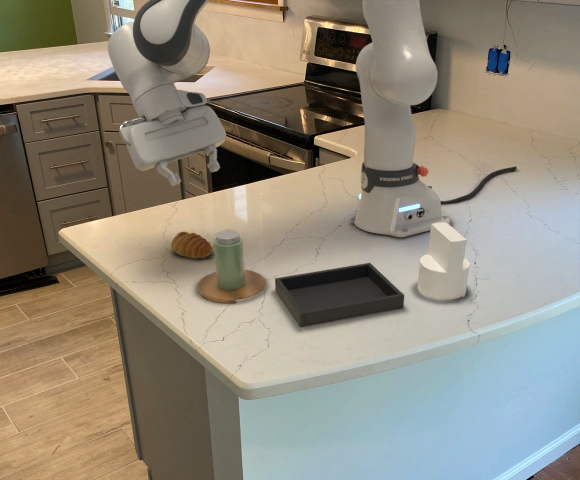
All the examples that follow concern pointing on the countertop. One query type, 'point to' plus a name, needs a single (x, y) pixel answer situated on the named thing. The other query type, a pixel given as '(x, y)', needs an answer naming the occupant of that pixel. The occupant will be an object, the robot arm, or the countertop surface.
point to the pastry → (191, 245)
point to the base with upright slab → (444, 264)
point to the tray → (337, 294)
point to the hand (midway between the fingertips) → (196, 177)
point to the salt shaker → (229, 260)
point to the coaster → (217, 294)
